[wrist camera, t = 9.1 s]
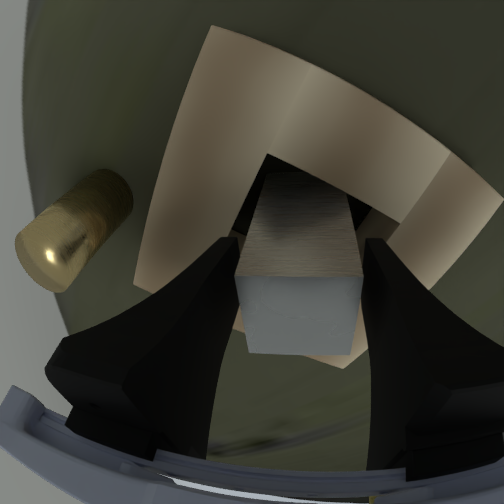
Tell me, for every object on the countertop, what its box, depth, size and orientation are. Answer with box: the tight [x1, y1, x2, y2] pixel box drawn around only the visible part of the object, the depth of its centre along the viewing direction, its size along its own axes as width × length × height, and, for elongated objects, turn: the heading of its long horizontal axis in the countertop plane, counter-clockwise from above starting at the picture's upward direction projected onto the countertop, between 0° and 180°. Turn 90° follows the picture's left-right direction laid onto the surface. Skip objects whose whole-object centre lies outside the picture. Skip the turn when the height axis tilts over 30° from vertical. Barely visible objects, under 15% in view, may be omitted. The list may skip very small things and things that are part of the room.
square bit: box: [234, 172, 364, 355], centre depth 11 cm, size 3×3×7 cm
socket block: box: [133, 25, 504, 369], centre depth 13 cm, size 12×12×3 cm
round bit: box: [15, 169, 133, 293], centre depth 13 cm, size 3×3×6 cm
